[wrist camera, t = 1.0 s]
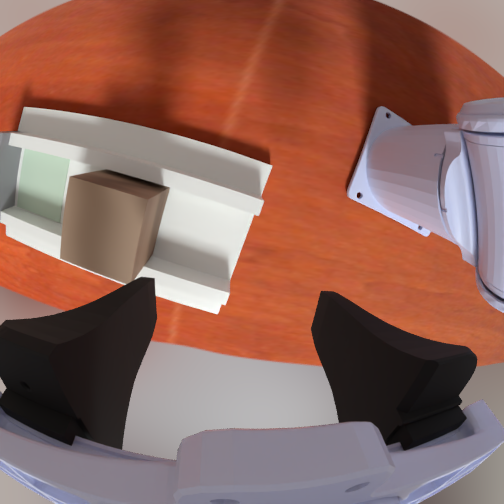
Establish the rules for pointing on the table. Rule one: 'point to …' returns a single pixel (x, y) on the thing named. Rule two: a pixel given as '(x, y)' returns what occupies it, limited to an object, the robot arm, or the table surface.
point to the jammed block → (111, 223)
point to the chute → (144, 167)
